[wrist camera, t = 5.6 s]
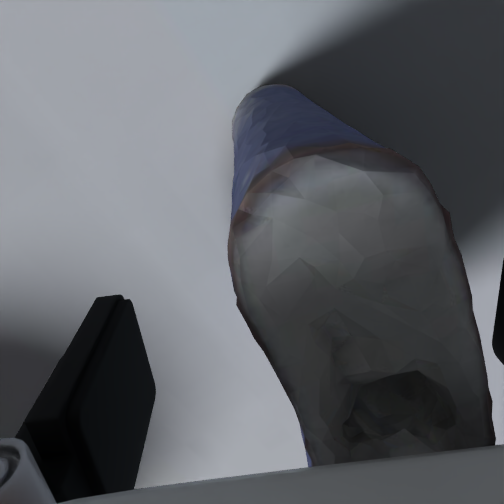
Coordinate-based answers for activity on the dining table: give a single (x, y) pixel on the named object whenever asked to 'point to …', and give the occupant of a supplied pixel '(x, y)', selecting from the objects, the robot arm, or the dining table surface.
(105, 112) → the dining table surface
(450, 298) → the dark blue piece
